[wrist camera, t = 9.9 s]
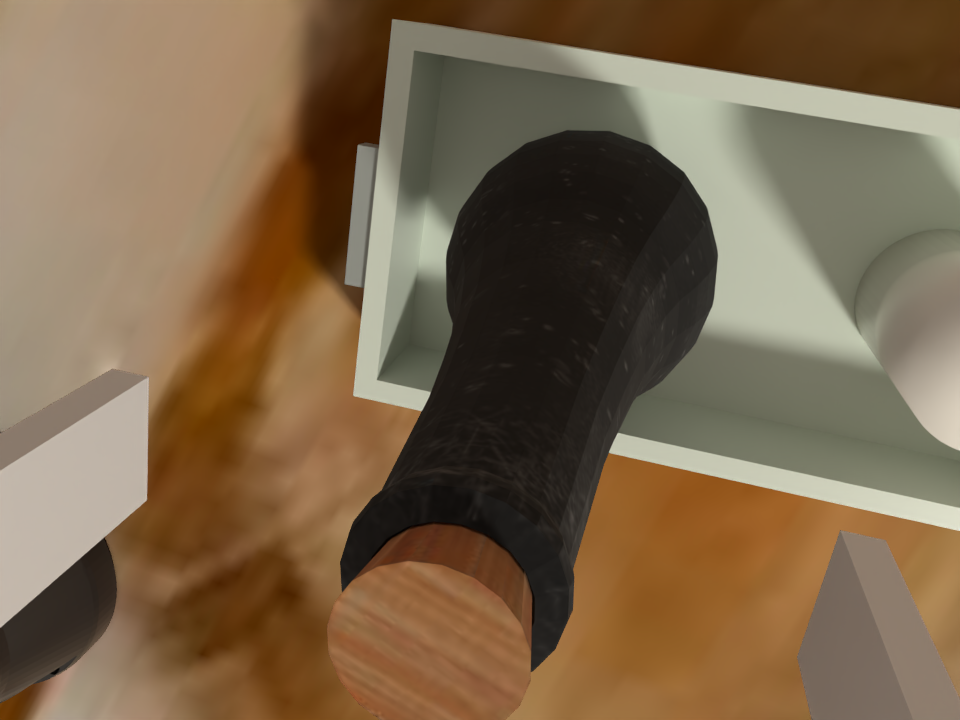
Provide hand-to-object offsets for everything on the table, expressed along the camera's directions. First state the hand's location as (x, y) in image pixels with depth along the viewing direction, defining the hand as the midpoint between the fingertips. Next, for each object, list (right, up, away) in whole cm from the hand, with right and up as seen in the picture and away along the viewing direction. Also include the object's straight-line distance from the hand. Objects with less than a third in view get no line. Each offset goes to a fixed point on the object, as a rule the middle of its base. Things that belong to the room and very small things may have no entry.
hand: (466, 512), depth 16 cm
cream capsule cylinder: (+20, +5, +22) cm, 30 cm away
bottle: (+5, +8, +24) cm, 26 cm away
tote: (+11, +7, +24) cm, 27 cm away
